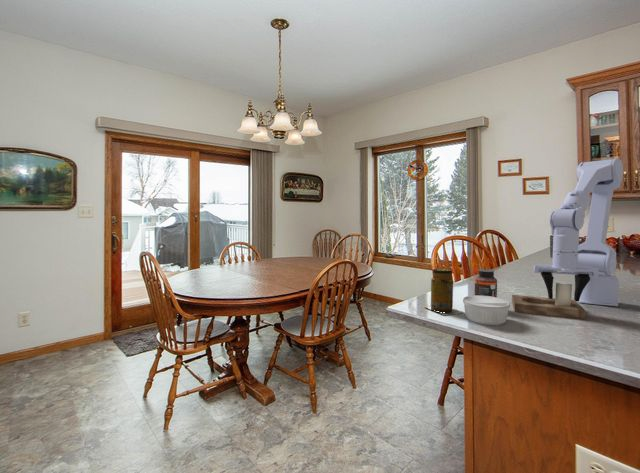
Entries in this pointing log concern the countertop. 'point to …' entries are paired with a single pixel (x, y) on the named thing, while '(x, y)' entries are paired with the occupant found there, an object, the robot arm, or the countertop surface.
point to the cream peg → (563, 294)
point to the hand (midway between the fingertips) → (563, 299)
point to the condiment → (442, 292)
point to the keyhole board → (546, 307)
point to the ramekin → (486, 309)
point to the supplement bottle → (486, 283)
